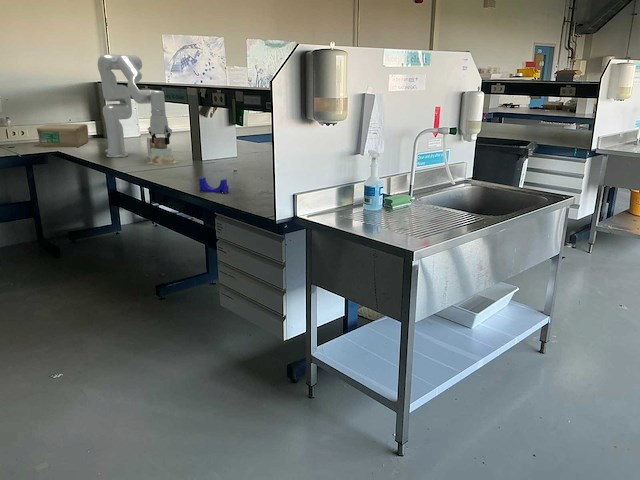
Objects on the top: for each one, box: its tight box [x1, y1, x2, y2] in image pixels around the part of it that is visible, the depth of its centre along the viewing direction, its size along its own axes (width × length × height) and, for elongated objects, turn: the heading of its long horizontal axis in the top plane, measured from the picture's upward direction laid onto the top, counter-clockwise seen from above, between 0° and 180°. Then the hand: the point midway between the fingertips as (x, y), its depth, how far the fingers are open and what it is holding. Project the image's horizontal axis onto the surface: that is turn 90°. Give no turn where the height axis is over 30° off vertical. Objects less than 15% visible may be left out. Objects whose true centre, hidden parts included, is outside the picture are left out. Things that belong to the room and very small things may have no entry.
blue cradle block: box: [198, 177, 229, 194], centre depth 236 cm, size 12×4×6 cm, turn 74°
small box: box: [146, 136, 158, 159], centre depth 319 cm, size 8×6×13 cm
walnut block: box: [154, 136, 168, 149], centre depth 303 cm, size 5×5×6 cm
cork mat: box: [145, 160, 180, 166], centre depth 306 cm, size 14×14×1 cm
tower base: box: [149, 154, 175, 164], centre depth 305 cm, size 9×9×4 cm
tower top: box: [151, 147, 173, 157], centre depth 304 cm, size 8×8×4 cm
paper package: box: [36, 123, 89, 148], centre depth 370 cm, size 27×26×14 cm
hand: (160, 143), depth 303 cm, fingers open, 9 cm apart
